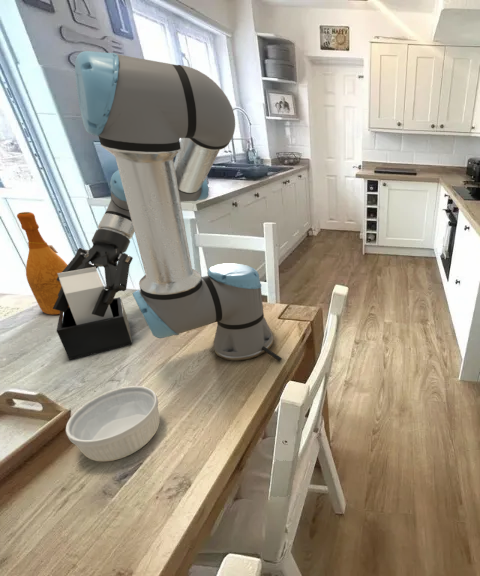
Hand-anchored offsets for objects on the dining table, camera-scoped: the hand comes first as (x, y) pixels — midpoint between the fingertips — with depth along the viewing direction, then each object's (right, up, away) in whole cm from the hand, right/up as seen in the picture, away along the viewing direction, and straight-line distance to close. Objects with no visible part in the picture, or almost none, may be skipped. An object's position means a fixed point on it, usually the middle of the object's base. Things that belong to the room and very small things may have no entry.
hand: (78, 312), depth 81 cm
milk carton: (0, -7, +7) cm, 9 cm away
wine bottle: (-23, 0, +20) cm, 31 cm away
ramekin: (+27, -23, -19) cm, 40 cm away
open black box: (0, -8, +7) cm, 11 cm away
